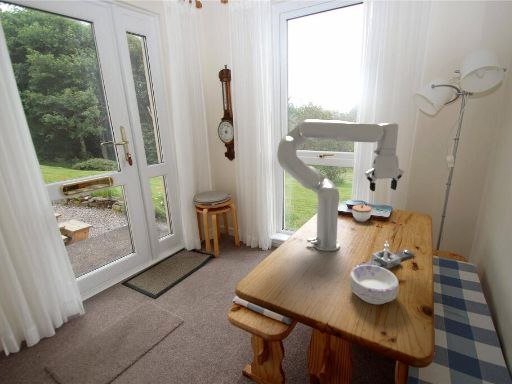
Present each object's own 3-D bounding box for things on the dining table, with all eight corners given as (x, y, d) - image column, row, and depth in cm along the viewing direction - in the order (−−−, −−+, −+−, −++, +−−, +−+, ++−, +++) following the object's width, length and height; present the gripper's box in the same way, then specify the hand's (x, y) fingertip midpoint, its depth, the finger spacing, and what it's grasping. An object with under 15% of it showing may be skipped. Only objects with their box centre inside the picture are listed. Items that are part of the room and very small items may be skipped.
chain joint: (366, 276, 101) (366, 269, 100) (351, 266, 108) (352, 260, 108) (418, 257, 112) (418, 251, 111) (401, 249, 119) (402, 243, 119)
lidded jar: (372, 223, 150) (373, 208, 147) (352, 222, 152) (353, 207, 150) (369, 216, 160) (370, 202, 157) (350, 216, 162) (351, 202, 160)
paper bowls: (375, 317, 81) (377, 296, 78) (340, 290, 94) (341, 271, 92) (406, 300, 87) (409, 280, 85) (369, 277, 100) (370, 259, 98)
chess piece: (387, 258, 113) (389, 237, 110) (393, 264, 108) (396, 243, 105) (376, 259, 113) (378, 238, 110) (382, 265, 108) (384, 243, 105)
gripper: (370, 154, 108) (368, 193, 112) (410, 152, 108) (406, 190, 113) (362, 152, 115) (360, 189, 119) (400, 150, 115) (396, 186, 120)
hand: (382, 189), depth 116 cm, fingers open, 9 cm apart
